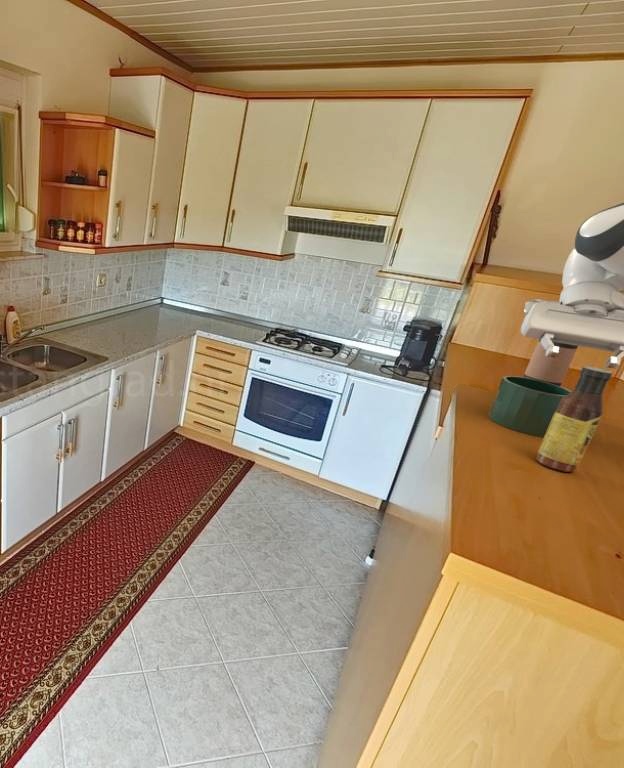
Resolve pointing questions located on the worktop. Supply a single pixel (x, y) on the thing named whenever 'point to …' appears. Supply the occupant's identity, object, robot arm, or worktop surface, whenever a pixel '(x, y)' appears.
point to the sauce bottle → (574, 422)
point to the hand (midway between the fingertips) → (581, 361)
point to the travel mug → (550, 363)
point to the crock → (526, 404)
